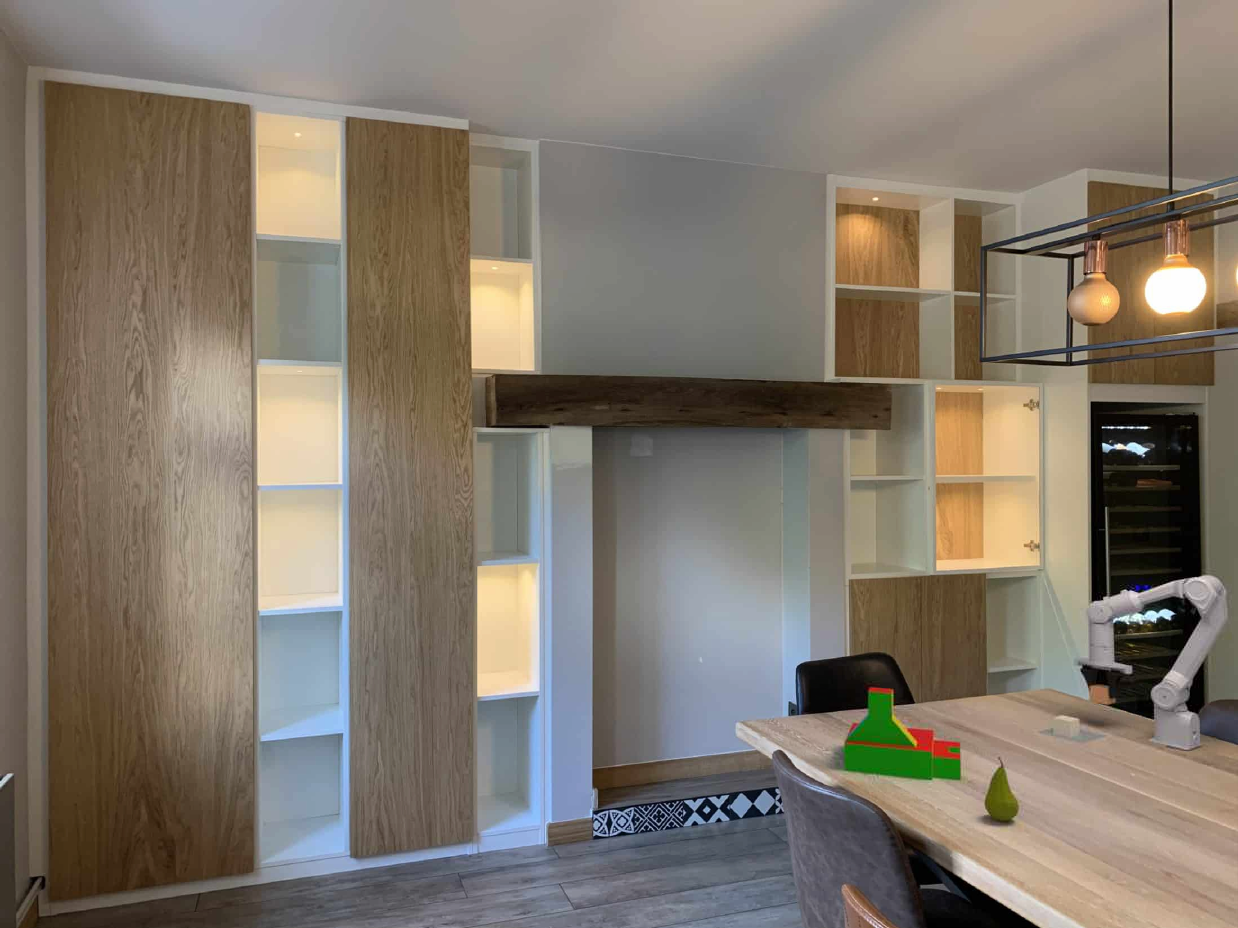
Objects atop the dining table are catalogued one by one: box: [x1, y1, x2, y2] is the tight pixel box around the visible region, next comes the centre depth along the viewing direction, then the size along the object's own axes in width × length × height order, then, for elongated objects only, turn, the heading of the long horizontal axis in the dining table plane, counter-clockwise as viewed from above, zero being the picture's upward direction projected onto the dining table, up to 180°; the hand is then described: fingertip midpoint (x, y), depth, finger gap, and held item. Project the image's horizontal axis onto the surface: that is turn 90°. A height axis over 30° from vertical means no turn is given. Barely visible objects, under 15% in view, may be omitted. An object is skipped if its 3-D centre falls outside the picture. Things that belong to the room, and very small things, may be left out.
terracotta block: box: [1089, 683, 1116, 705], centre depth 237 cm, size 4×4×4 cm
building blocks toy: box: [843, 686, 962, 781], centre depth 207 cm, size 19×25×18 cm
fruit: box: [984, 756, 1020, 822], centre depth 172 cm, size 6×6×12 cm
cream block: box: [1052, 714, 1080, 737], centre depth 231 cm, size 4×4×4 cm
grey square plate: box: [1037, 727, 1107, 744], centre depth 231 cm, size 12×12×1 cm
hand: (1102, 696), depth 237 cm, fingers closed on terracotta block, 4 cm apart
